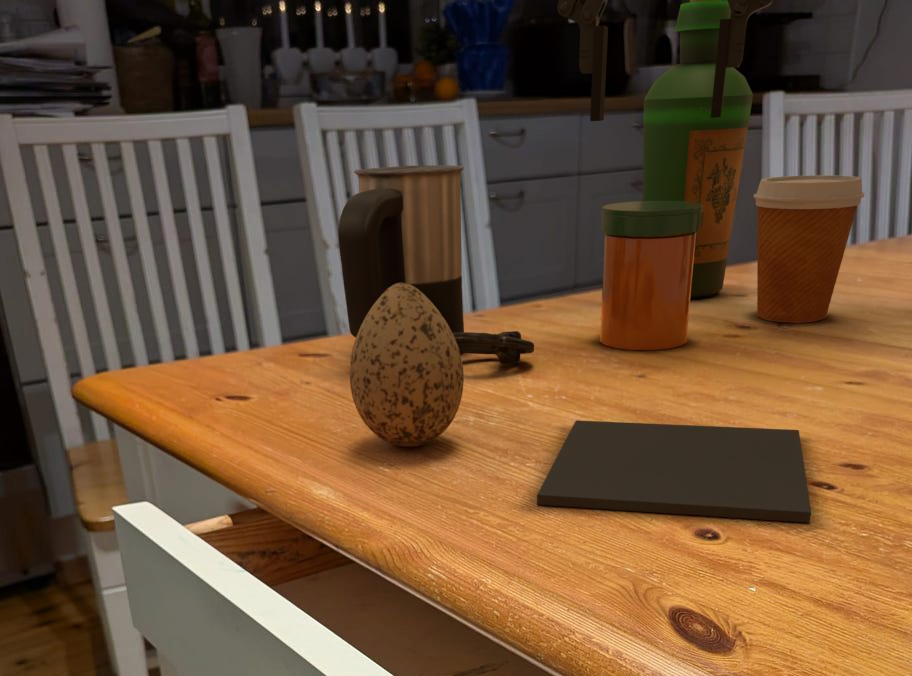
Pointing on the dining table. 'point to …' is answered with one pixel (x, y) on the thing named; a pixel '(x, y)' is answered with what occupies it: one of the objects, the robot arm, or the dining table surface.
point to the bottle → (698, 139)
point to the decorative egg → (406, 369)
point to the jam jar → (646, 291)
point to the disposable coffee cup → (802, 243)
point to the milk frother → (412, 249)
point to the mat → (681, 471)
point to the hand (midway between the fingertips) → (655, 118)
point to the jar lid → (652, 218)
